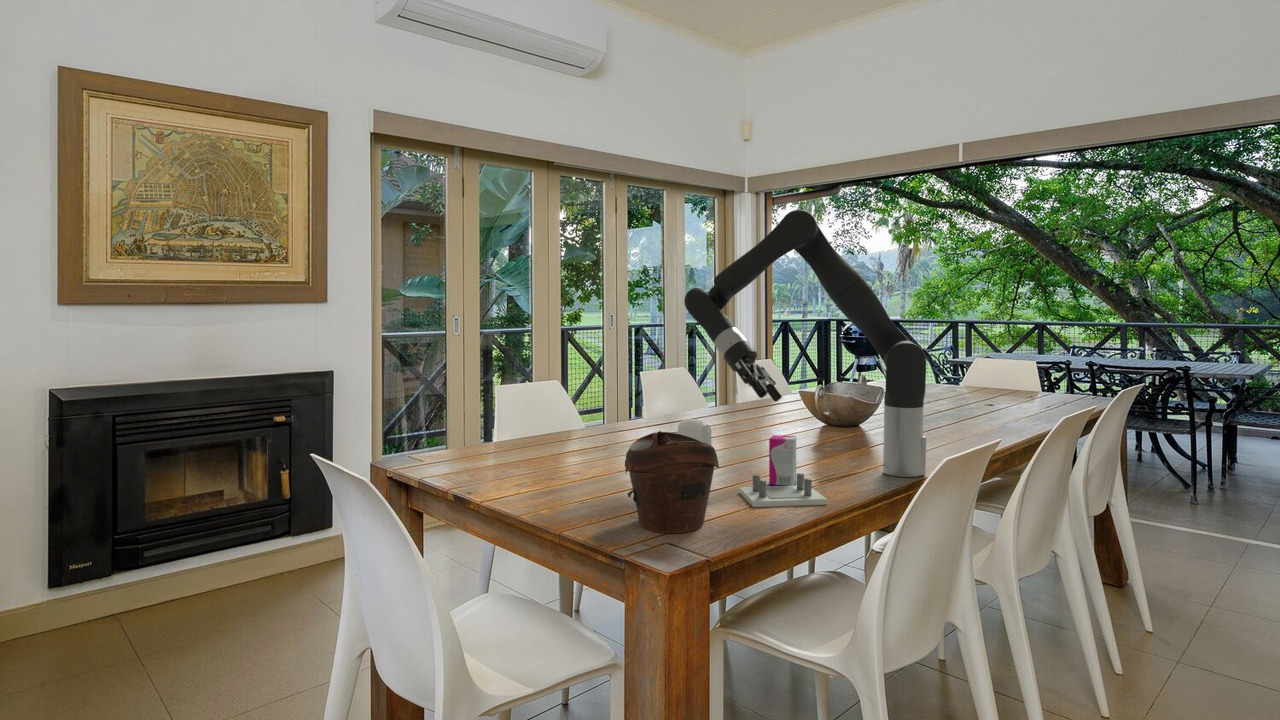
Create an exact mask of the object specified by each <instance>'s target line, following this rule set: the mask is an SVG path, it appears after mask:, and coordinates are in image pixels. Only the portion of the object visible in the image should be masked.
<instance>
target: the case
mask: <svg viewBox="0 0 1280 720" xmlns="http://www.w3.org/2000/svg"><path fill="white" fill-rule="evenodd" d="M624 467H625V474H627V473H628V472H629V477H630V483H631V487H632V489H631V490H630V491H628V493H627V497H628V498H631V496H632V495H633V496H632V500H633V502H635V503H634V504H635V507H636V511H637V516H638V517H637V518H638V520H639V523H640V526H641V527H642V528H645V530H648V531H652V532H653V533H661V534H682V533H683V534H684V533H689V532H690V533H691V532H693V531H696V530H698V529H700V528H701V527H702V526H703V525H704V523H705V517H706V512H707V508H708V502H709V497H710V492H711V488H712V482H713V475H714V470H715V468H718V469H720V465H719V459H718V454H717V452H716V450H715V448H714V447H713V445H712V444H711V445H708V444H706V443H703V442H701V441H699V440H696V439H694V438H691V437H688V436H685V435H682V434H678V432H677V433H676V432H672V431H671V432H668V431H661V430H658V431H657V432H652V433H649V434H646V435H644V436H641V437H640V438H638V439H637V440H635V441H634V442H632V444H631V445H630V446H629V448H628V451H626V454H625V460H624Z"/></svg>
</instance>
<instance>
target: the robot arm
mask: <svg viewBox="0 0 1280 720" xmlns="http://www.w3.org/2000/svg"><path fill="white" fill-rule="evenodd" d="M793 250H794V251H796V252H797V254H798V255H799V256H800V257H801V258H802V259H803V260H804V261H805V262H806V263H807V264H808V266H809V267H810V268H811V269H812V272H814V274H815V276H816V277H817V279H818V281H819V283H820V285H821V286H822V288H823V289H824V290H825V292H826V294H827V295H828V297H829V299H830V300H832V301H833V303H834V304H835V305H836V307H837V308H838V309H839V310H840V312H841V313H842V314H843V315H844V316H845V317H846V319H848V320H849V322H850V323H851V324H853V325H854V327H855V328H857V329H858V330H859V331H860V332H861V333H862V334H863V335H864V336H865V337H866V338H867V340H868V341H869V342H870V344H871V345H872V347H873V348H874V350H875V351H876V352H877V354H878V355H879V357H880V359H881V360H882V363H883V364H884V365H885V388H884V389H885V391H884V400H883V402H884V408H883V412H884V413H883V450H882V451H883V454H882V455H883V456H882V457H883V458H882V459H883V460H882V472H883V474H886V475H889V476H892V477H899V478H917V477H921V476H926V469H927V468H926V465H927V464H926V463H927V462H926V461H927V459H926V458H927V457H926V456H927V437H926V436H924V406H925V405H924V403H925V396H926V384H927V383H926V379H927V357H926V354H925V352H924V350H923V349H922V347H920V345H918V344H916V343H914V342H913V341H912V340H910V339H909V337H908V336H907V335H905V334H904V333H903V331H901V329H900V328H898V326H897V325H896V324H895V323H894V322H893V321H892V319H891V318H890V316H889V315H888V313H887V311H886V309H885V308H884V305H883V304H882V302H881V300H880V299H879V297H878V296H877V295H876V293H875V291H874V290H873V289H872V287H871V286H870V284H868V282H867V281H866V280H865V278H864V277H863V276H862V275H861V274H860V273H859V272H858V271H857V270H856V269H855V267H853V266H852V265H851V263H849V262H848V261H847V260H846V259H845V258H844V257H843V256H842V255H841V254H840V253H839V252H838V251H837V250H836V249H835V248H834V246H832V244H831V243H830V242H829V240H828V239H827V237H826V235H824V233H823V231H822V230H821V228H820V226H819V224H818V221H816V218H815V216H813V214H812V213H810V212H809V211H807V210H804V209H795V210H792V211H791V210H790V211H789V212H787V214H785V215H784V216H783V218H782V219H781V220H780V221H779V222H778V224H777V225H776V226H775V227H774V228H773V229H772V230H771V231H770V232H769V233H768V234H767V235H766V236H764V238H763V239H762V240H761V241H759V242H758V243H757V244H756V245H754V247H752V248H751V249H749V250H748V251H747V252H746V253H744V254H743V255H742V256H740V257H739V258H738V259H736V260H735V261H733V262H732V263H731V264H729V265H728V266H726V268H724V269H723V270H722V271H720V272H719V273H718V274H717V275H715V277H714V279H713V286H712V287H711V288H710V289H709V290H708V291H707V290H706V289H703V288H701V287H694V288H692V289H689V290H688V291H687V292H686V293H685V296H684V305H685V308H686V310H687V312H688V313H689V314H690V316H692V318H693V319H694V320H695V321H696V322H697V324H699V325H700V327H702V328H703V330H704V331H705V333H706V334H707V336H708V337H709V339H710V340H711V341H712V343H713V345H714V346H715V347H716V349H717V351H718V353H719V354H720V356H721V357H722V358H723V360H724V361H725V362H726V364H727V365H728V366H729V367H730V370H732V371H733V372H735V373H737V374H738V376H739V377H740V379H741V380H742V382H743V383H744V384H745V385H748V386H749V387H750V388H752V389H753V390H754V392H755V394H756V395H757V396H758V398H759V399H760V398H761V399H763V398H764V397H766V396H767V395H769V396H770V398H771V399H772V400H773V401H774V402H779V400H781V399H782V397H783V396H782V394H781V393H780V392H779V390H778V389H777V388H776V386H775V385H776V384H777V383H776V381H775V380H774V379H773V378H772V377H771V375H770V374H769V373H768V371H767V370H766V368H765V367H764V366H760V365H759V364H758V363H756V360H757V358H758V352H757V351H756V349H754V347H753V346H752V345H751V343H750V342H749V341H748V340H747V339H748V338H746V337H745V336H744V334H743V333H742V332H741V331H740V330H739V329H738V328H737V327H736V326H735V324H734V323H733V322H732V320H731V319H730V318H729V317H728V316H727V315H726V314H725V313H724V312H722V310H723V309H724V308H725V307H726V305H728V303H729V302H730V300H731V299H732V298H733V297H734V296H735V295H737V294H739V293H740V291H742V290H743V289H744V288H746V287H748V285H750V284H751V283H753V282H754V281H755V280H756V279H757V278H758V277H759V276H760V275H761V274H762V273H763V272H764V271H765V270H767V268H768V267H770V266H771V265H772V264H773V263H775V262H776V261H777V260H779V259H780V258H781V257H783V256H784V255H786V254H788V253H790V252H792V251H793Z"/></svg>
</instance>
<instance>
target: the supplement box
mask: <svg viewBox="0 0 1280 720" xmlns="http://www.w3.org/2000/svg"><path fill="white" fill-rule="evenodd" d="M768 441H769V442H768V443H769V445H768V447H769V449H768V451H769V453H768V455H769V457H768V458H769V459H768V460H769V461H768V462H769V465H768V466H769V467H768V469H769V470H768V472H769V473H768V476H769V477H768V478H769V480H768V481H769V482H768V486H796V485H797V435H782V434H781V435H780V434H773V435H772V436H771V437H769V440H768Z"/></svg>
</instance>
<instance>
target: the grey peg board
mask: <svg viewBox="0 0 1280 720" xmlns="http://www.w3.org/2000/svg"><path fill="white" fill-rule="evenodd" d="M812 481H813V480H812V478H807V477H806V478H805V473H800V472H796V485H795V486H769V485H768V486H767V480H765V479H761V475H760V474H752V486H742V487H741V486H740V487H739V494H740V495H741V496H742V497H743V499H745V500H746V502H747V503H748V504H750V505H751V507H752V508H762V507H763V508H765V507H770V508H771V507H793V506H795V507H796V506H819V505H820V506H823V505H824V506H825V505H827V502H828V499H827V498H826V497H825V496H823V495H822V494H821V493H820V492H818V491H816V489H814V488H812V486H813V485H812V484H813V482H812Z"/></svg>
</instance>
